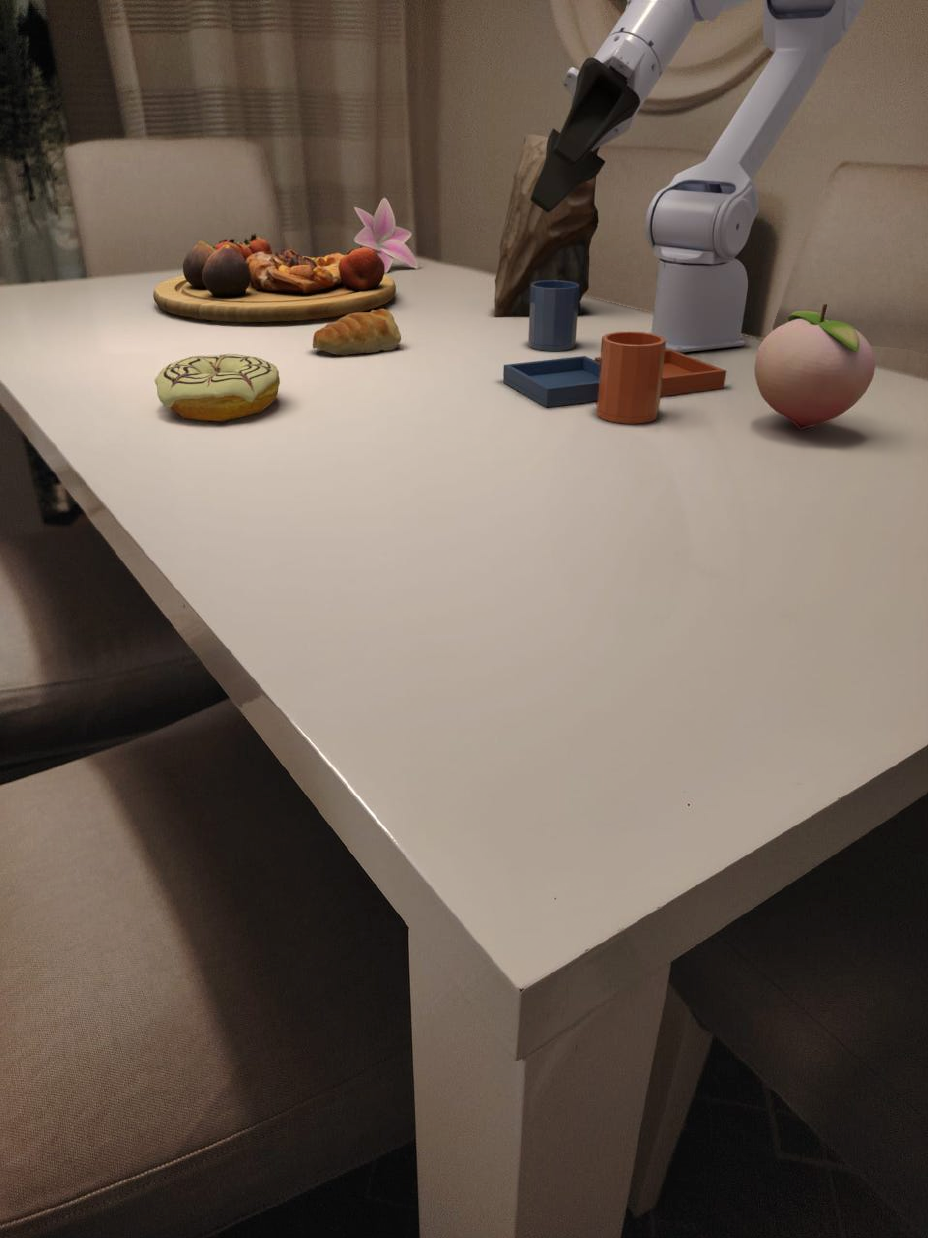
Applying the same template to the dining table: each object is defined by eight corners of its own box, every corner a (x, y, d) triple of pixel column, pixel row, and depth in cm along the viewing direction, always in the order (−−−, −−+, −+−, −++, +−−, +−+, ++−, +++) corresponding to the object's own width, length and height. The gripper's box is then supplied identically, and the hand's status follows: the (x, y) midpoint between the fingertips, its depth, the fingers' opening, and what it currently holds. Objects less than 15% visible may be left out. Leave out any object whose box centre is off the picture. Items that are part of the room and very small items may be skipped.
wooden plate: (442, 294, 127) (441, 230, 123) (287, 338, 103) (280, 261, 99) (272, 273, 142) (266, 215, 138) (103, 307, 118) (90, 239, 114)
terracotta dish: (669, 365, 93) (671, 349, 92) (723, 388, 86) (726, 370, 85) (593, 374, 90) (594, 357, 89) (643, 398, 83) (645, 380, 82)
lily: (343, 281, 141) (365, 225, 135) (329, 240, 148) (349, 185, 142) (411, 300, 148) (435, 247, 141) (394, 260, 154) (417, 208, 148)
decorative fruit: (722, 418, 78) (740, 297, 73) (798, 408, 81) (820, 290, 76) (797, 453, 70) (823, 320, 65) (878, 439, 73) (908, 311, 68)
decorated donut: (147, 426, 76) (139, 381, 74) (174, 390, 85) (167, 349, 83) (274, 423, 76) (269, 379, 74) (286, 388, 85) (282, 347, 83)
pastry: (333, 361, 94) (330, 323, 92) (300, 349, 99) (297, 313, 97) (406, 348, 99) (405, 311, 98) (372, 337, 104) (370, 302, 102)
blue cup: (560, 338, 104) (564, 278, 100) (584, 348, 100) (588, 286, 96) (520, 342, 102) (522, 281, 99) (542, 353, 98) (544, 289, 94)
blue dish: (583, 372, 91) (585, 355, 90) (632, 396, 84) (634, 378, 83) (502, 382, 88) (503, 364, 87) (546, 407, 80) (547, 388, 80)
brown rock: (504, 297, 125) (508, 132, 115) (596, 300, 123) (608, 133, 113) (489, 315, 114) (492, 136, 104) (590, 320, 112) (603, 137, 102)
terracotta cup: (635, 402, 82) (642, 329, 79) (669, 419, 78) (678, 342, 74) (585, 409, 80) (590, 334, 77) (617, 427, 76) (624, 348, 73)
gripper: (569, 85, 86) (495, 197, 84) (622, -29, 72) (534, 102, 70) (629, 130, 87) (557, 241, 85) (693, 26, 73) (608, 157, 71)
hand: (551, 182), depth 78 cm, fingers open, 7 cm apart
